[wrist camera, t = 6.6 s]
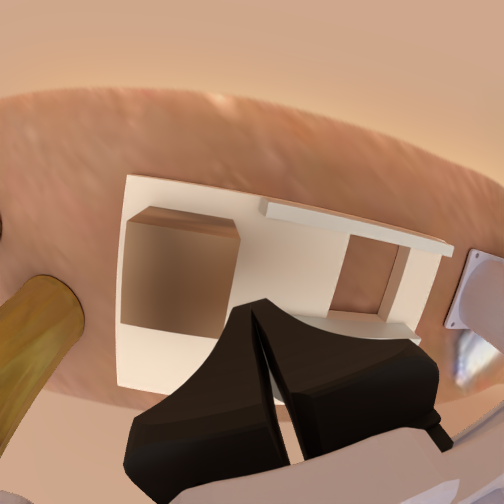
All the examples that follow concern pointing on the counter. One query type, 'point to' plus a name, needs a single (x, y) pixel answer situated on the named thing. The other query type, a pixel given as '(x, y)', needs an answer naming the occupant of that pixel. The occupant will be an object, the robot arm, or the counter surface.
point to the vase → (33, 345)
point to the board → (256, 277)
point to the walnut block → (178, 271)
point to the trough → (359, 228)
